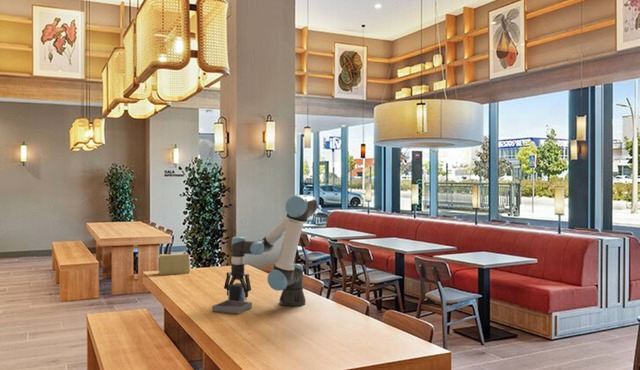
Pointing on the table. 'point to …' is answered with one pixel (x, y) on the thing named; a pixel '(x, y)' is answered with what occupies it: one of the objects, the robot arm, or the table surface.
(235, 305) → the tray
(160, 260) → the olive rectangular block
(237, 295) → the small box
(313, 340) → the table surface
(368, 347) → the table surface
